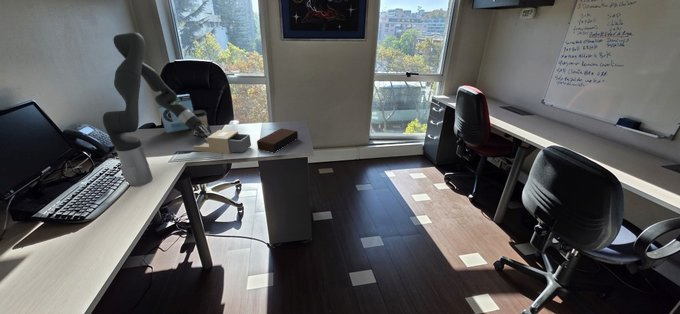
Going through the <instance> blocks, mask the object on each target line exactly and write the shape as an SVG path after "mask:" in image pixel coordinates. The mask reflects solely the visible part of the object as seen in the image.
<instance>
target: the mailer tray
mask: <svg viewBox="0 0 680 314" xmlns="http://www.w3.org/2000/svg"><path fill="white" fill-rule="evenodd" d="M228 143H229V148H230V151H233V152H234V153H235V152H237V153H244V152H245V151H246V150H247V149H249V148H250V147H252V141H251V136H250V134H245V133H238V134H236V135H234V136H233V137H231V138H230V139H228ZM233 152H232V153H233Z"/></svg>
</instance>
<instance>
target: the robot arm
mask: <svg viewBox="0 0 680 314" xmlns="http://www.w3.org/2000/svg"><path fill="white" fill-rule="evenodd" d="M112 40H113V44H114V47H115V48H116V49H117V51H118V53H119V54H120V55H121V56H122V57H123V58H124V60H122V61H121V63H120V64H119V66H117V68H116V70H115V73H114V80H113V84H114V85H113V86H114V88H115V90H116V91H117V92H118V94H119V96H121V97H122V99H123V100H124V103H125V109H124V110H115V111H114V110H113V111H105V113H104V114H103V115H102V124H103V126H104V129H105V131H106V132H107V133H106V134H107V135H108V137H109V139H110V142H111V144H112V145H113V147H114V148H115V151H116V154H117V156H118V159H119V162H120V163H121V166H119V167H120V170H121V173H122V175H123V179H124V181H125V183H126V182H128V183H129V185H130V186H131V187H138V188H139V187H141V186H143V185H146V184H149V183H150V182H152V181H153V179H154V177H153V175H152V174H153V173H152V172H151V168H150V166H149V162H148V160H147V156H146V153H145V151H144V147H143V145H142V142H141V139H140V138H138V137H135V136H131V135H128V133H129V134H130V133H135V132H136V131H137V130H138V129H139V125H140V124H139V123H140V122H139V121H140V118H139V117H140V115H139V111H140V110H139V99H140V90H141V82H142V78H143V79H144V81H145V82H146V83H147V85H148V86H149V88H150V89H151V90H152V91H153V92H156V93H158V92H161V93H159V94H158V95H156V96H155V97H154V98H155V99H154V101H155V102H156V104H157V105H158V104H159V105H160V106H162V107H164V108H166V109H167V110H169V111H171V112H172V113H174V114H175V115H176V116H177V117H178V118H179V119H180V120H181V121H182V122H183V123H184V124H185V125H186V126H187V127H189V128H190V130H192V131H193V134H192V135H193V136H194V137H197V138H200V139H206V138H207V137H208V136H210V135H212V134H213V133H212V129H211V126H210V125H209V124H207V126H206V125H204V124H202V123H201V120H200V119H199V118H198V117H197V116H196V115H194V114H193V113H192V112H191V111H190V110H188V109H187V108H186V107H185V106H184V105H183V104H182V103H177V104H174V105H172V104H171V103H172V102H174V101H175V100H176V99H177V95H178V94H177V93H176V92H175V91H173V90H172V89H171V88H170V87H169V86H168V85H167V84H166V83H165V82H164V80H163V79H162V77H161V76H160V74H159V73H158V72H157V71H156V70H155V69H154V68H152V67H151V66H149V65H148V64H146V63H144V58H145V54H146V51H147V45H146V41H145V39H144V37H143V36H142V35H141V33H139V32H128V33H121V34H115V36H113V39H112ZM126 133H127V134H126ZM202 133H203V134H202ZM130 186H129V187H130Z"/></svg>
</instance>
